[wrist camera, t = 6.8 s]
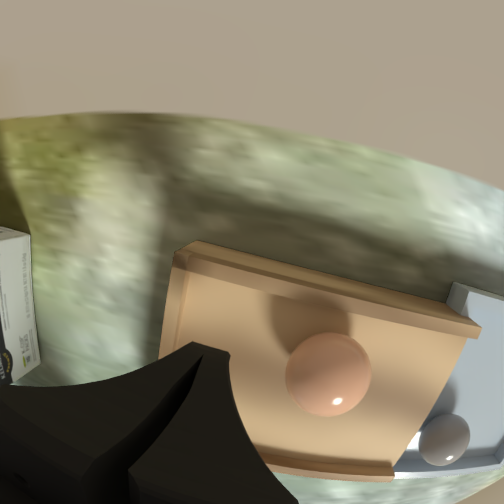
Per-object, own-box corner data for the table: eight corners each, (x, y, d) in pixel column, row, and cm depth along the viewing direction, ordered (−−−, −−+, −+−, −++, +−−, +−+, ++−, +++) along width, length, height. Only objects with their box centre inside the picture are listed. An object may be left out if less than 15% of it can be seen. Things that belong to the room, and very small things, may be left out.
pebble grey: (446, 445, 15) (454, 478, 12) (406, 437, 16) (410, 473, 13) (472, 407, 14) (486, 439, 11) (432, 398, 15) (442, 432, 12)
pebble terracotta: (346, 391, 13) (358, 438, 10) (276, 377, 14) (272, 425, 10) (373, 327, 13) (395, 367, 9) (298, 310, 13) (301, 348, 10)
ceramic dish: (492, 456, 16) (499, 468, 14) (365, 459, 17) (369, 478, 15) (568, 317, 13) (582, 325, 12) (453, 281, 14) (469, 291, 12)
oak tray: (381, 448, 17) (390, 482, 13) (169, 405, 17) (150, 438, 14) (453, 305, 14) (482, 327, 11) (196, 240, 15) (174, 252, 12)
